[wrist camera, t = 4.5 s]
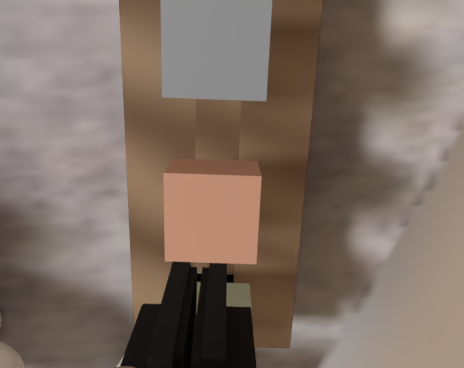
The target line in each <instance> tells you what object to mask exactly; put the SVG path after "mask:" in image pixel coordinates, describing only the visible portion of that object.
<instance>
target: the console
mask: <svg viewBox="0 0 464 368" xmlns="http://www.w3.org/2000/svg"><path fill="white" fill-rule="evenodd" d="M322 5H323V0H272V14H271V31H270V48H269V64H268V81H267V97H266V101H245V100H217V99H189V98H162V63H161V4H160V0H119V10H120V32H121V54H122V76H123V98H124V120H125V142H126V164H127V186H128V208H129V230H130V252H131V274H132V296H133V318H134V326H135V323H136V320H137V317H138V314H139V311H140V309H141V306H142V304H144V303H145V304H161V302H162V298H163V295H164V291H165V287H166V284H167V280H168V277H169V273H170V269H171V266H172V262H166V261H165V241H164V182H163V173H164V171H165V170H166V168H167V167H168V165H169V163H170V162H171V160H172V159H202V160H232V161H258V165H259V168H260V172H261V176H262V180H261V197H260V213H259V230H258V246H257V263H256V264H230V263H227V275H234V281H233V283H249V284H250V294H251V306H252V323H253V335H254V346H255V347H272V348H290V341H291V330H292V320H293V309H294V299H295V289H296V278H297V268H298V257H299V247H300V236H301V226H302V215H303V205H304V194H305V184H306V173H307V163H308V152H309V142H310V131H311V121H312V110H313V100H314V89H315V79H316V68H317V58H318V47H319V37H320V26H321V16H322ZM209 264H210V263H198V262H191V267H197V274H202V268H203V267H209Z"/></svg>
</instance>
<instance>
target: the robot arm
mask: <svg viewBox="0 0 464 368" xmlns="http://www.w3.org/2000/svg"><path fill="white" fill-rule="evenodd" d="M226 299H227V263H210V264H209V267H203V268H202V275H201V283H200V291H199V298H198V306H197V267H191V262H175V261H173V262H172V266H171V269H170V273H169V277H168V280H167V284H166V287H165V291H164V295H163V298H162V302H161V304H145V303H144V304H142V306H141V309H140V311H139V314H138V317H137V320H136V323H135V326H134V328H133V331H132V334H131V337H130V340H129V343H128V345H127V348H126V351H125V354H124V357H123V360H122V362H121V365H120V367H115V368H256V358H255V346H254V335H253V323H252V312H251V307H233V306H226ZM196 311H197V314H196Z"/></svg>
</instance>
